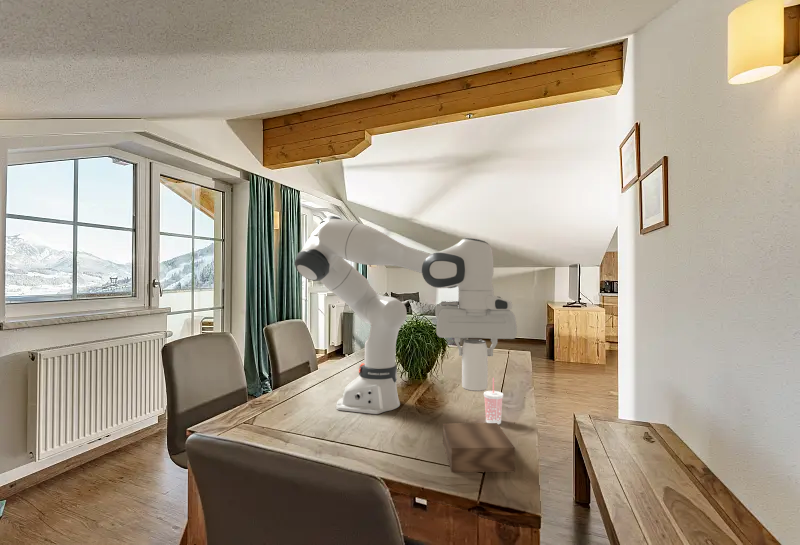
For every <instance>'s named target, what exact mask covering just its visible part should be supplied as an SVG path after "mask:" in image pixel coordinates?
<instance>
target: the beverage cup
mask: <svg viewBox="0 0 800 545" xmlns="http://www.w3.org/2000/svg"><path fill="white" fill-rule="evenodd" d="M483 397H484V410H485V411H484V412H485V423H497V424H498V425H500V424H502V414H503V412H502V411H503V410H502V408H503V398H504V393H503V392H501V391H498V390H495V377H492V390H484V391H483Z"/></svg>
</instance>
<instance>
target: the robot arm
mask: <svg viewBox="0 0 800 545" xmlns="http://www.w3.org/2000/svg"><path fill="white" fill-rule="evenodd" d="M349 261H350V262H352V263H356V264H360V265H365V266H390V267H391V266H393V267H400V268H404V269H408V270H409V271H414V272H417V273H419V274H421V275H422V277H423V279H424V281H425V283H427V284H428V285H429V286H431V287H433V288H436V289H454V288H457V287H458V301H456V300H455V301H445V300H444V301H441V302H438V303H437V304H436V305H435V308H434V315H435V317H436V319H437V321H436V330H435V331H436V335H437V337H438V338H440V339H441V338H442V339H444V338H445V339H446V338H448V339H449V338H450V339H454V343H455V345H456V347H457V348H458V356H460V357H462V355H463V349H462V346H461V344H460V343H461V339H489V340H490V342H491V345H490V346H489V347H487V352H488V357H494V349H495V348H496V346H497V345H498V340H502V339H503V340H505V339H506V340H515V339H516V337H517V334H518V328H517V327H518V326H517V320H516V315H515V313H514V312H513V311H512V309H513V304H512V301H511V300H509V299H505V298H503V297H501V296H497V295H494V286H493V276H494V254H493V249H492V247H491V245H490V243H488V242H487V241H485V240H481V239H478V238H472V237H471V238H468V237H467V238H466V237H465V238H462V239H461V240H459V242H457V243H455V244H454V245H452V246H450V247H447V248H445V249H443V250H439V251H436V252H433V253H429V252H426V251H422V250H420V249H417V248H414V247H410V246H408V245H406V244H405V245H404V244H403V243H400V242H398V241H397V240H395V239H393V238H392V237H390V236H388V235H387V234H385V233H384V232H381V231H380V230H378V229H376V228H373V227H371V226H370V225H368V224H367V225H366V224H363V223H361V222H357V221H353V220H348V219H342V218H341V217H339V216H335V215H329V216H327V217H325V218H324V219H322V221H321V222H320V223H319V225H318V226H317V227H316V228H315V229H314V230H313V231H312V232H311V234H310V235H309V236H308V239H307V240H306V241H305V243H304V245H303V246H302V249H301V250H300V251H299V252H298V253H297V255H296V257H295V259H294V267H295V269H296V271H297V272H298V273H299V274H300V275H301V276H303V278H305V279H307V280H309V281H312V282H318V281H319V282H321V284H322V285H323V286H324V287H325V288H327V289H328V290H329V291H330V292H332V293H333V294H334V295H335V296H336V297H337V298H339V299H340V300H341V301H342V302H344V303H345V304H346V305H347V306H348V307H349V308H350V309H351V310H352V311H353V313H355V315H356V316H357V317H358V318H359V319H360V321H362V322H364V323H365V324H367V325H370V331H369V334H368V338H367V339H366V341H365V343H364V362H362V363H361V364H360V365H359V368H358V376H357V377H355V378H354V379H353V380H352V381H350V382H349V383H348V384H346V386H345V387H344V391H343V392H342V393H343V395H342V397H339V399H338V400H337V402H336V405H335V408H336V409H337V410H338V411H343V412H345V411H346V412H353V413H354V412H356V413H364V414H371V415H379V414H381V413H385V412H388V411H392V410H396V409H397V408H399V407H400V405H401V402H400V400H399V395H398V387H397V379H398V369H397V368H398V366H397V364H396V360H397V359H396V358H397V357H396V355H397V352H396V351H397V350H396V348H397V346H396V345H397V340H398V336H399V331H400V328H401V326H402V325H403V324H404V323H405V322H406V319H407V316H408V315H407V314H408V312H407V308H406V305H405V304H404V303H403V302H402V301H400V299H397V298H396V297H393V296H386V295H381V294H379V293H378V292H376V291H375V290H374V288H373V287H372V285H370V283H369V279H368V278H366V277H365V276H364V275H363V274H361V272H359V271H358V270H357V269H356V268H355V267H354V266H353V265H352V264H351V263H349Z"/></svg>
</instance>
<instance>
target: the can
mask: <svg viewBox="0 0 800 545" xmlns="http://www.w3.org/2000/svg"><path fill="white" fill-rule="evenodd" d="M486 342H487V341H486V340H483V339H478V338H467V339H464V340H463V344H462V346H461V348H462V349H463V355H462V356H461V387H462V388H463V389H464V390H466V391H470V392H485V391H487V389H488V384H489V383H488V379H489V378H488V377H489V376H488V370H489V368H488V362H489V361H488V359H489V358H488V357H489V356H488V352H487V348H488V345H487V343H486Z"/></svg>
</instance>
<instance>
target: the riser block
mask: <svg viewBox="0 0 800 545" xmlns="http://www.w3.org/2000/svg"><path fill="white" fill-rule="evenodd" d="M442 445H443V449H444V452H445V455H446V459H447V462H448V465H449V467H450V471H451V473H478V472H479V473H481V472H482V473H483V472H484V473H493V472H494V473H499V472H500V473H501V472H504V473H505V472H507V473H508V472H510V473H511V472H515V471H516V466H515V465H516V464H515V462H516V461H515V460H516V458H515V456H516V455H515V453H516V450H515V449H516V447H515V446H514V444H513V443H512V442H511V440H510V439H509V438H508V436H507V434H506V433H505V432H504V431H503V429H502V428H501V426H500V424H497V423H487V422H473V423H472V422H471V423H470V422H467V423H465V422H462V423H461V422H459V423H458V422H457V423H456V422H454V423H453V422H452V423H451V422H450V423H447V422H446V423H442Z"/></svg>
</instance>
